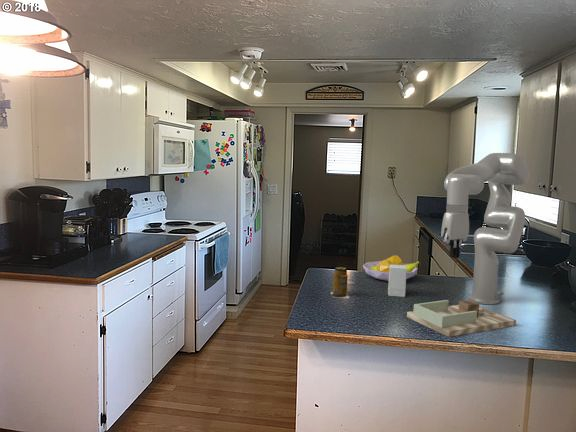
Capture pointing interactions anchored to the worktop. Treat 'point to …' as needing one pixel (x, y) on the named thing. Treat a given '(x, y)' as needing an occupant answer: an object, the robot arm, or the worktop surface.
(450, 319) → the low bay
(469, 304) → the walnut block
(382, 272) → the fruit bowl
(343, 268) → the condiment
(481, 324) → the board
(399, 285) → the supplement box
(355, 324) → the worktop surface
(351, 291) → the worktop surface
